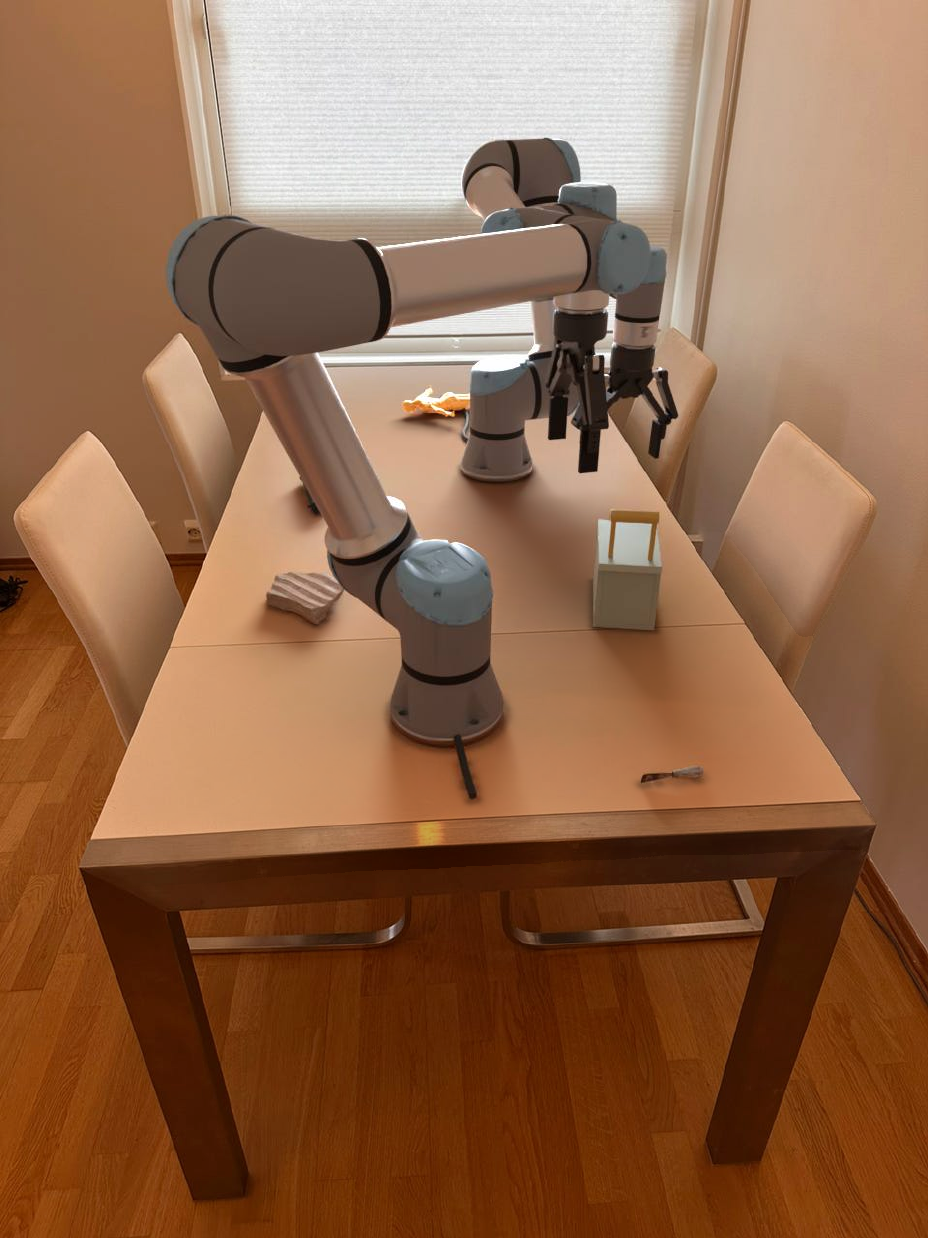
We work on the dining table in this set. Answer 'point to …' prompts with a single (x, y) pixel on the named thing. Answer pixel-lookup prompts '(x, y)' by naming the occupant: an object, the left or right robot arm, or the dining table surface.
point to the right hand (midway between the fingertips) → (620, 459)
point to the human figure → (438, 403)
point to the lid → (629, 542)
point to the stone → (305, 593)
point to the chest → (624, 598)
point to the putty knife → (674, 774)
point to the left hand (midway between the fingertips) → (571, 454)
